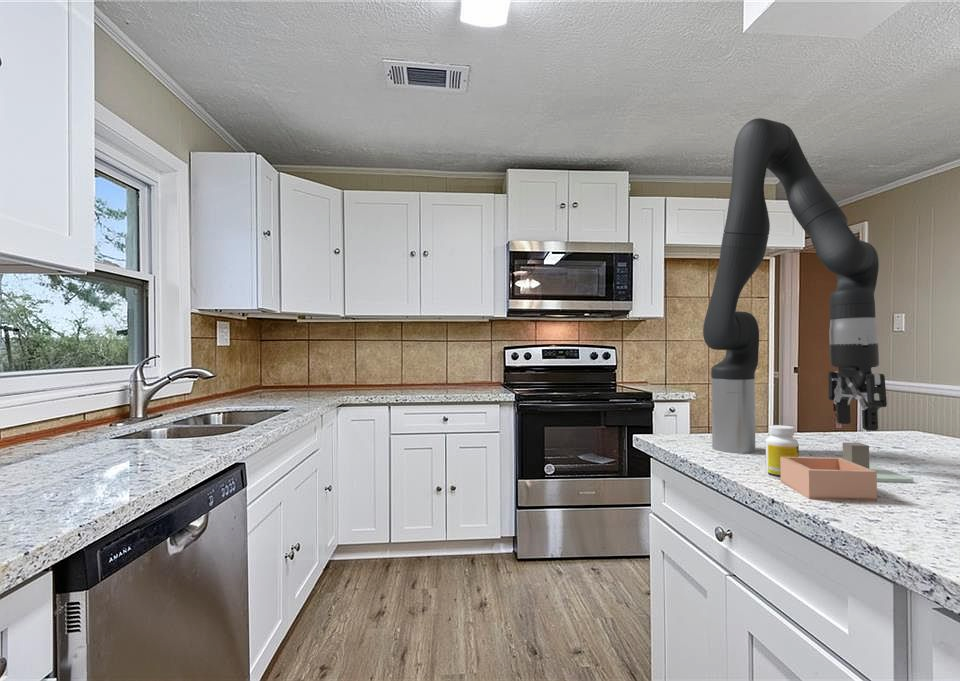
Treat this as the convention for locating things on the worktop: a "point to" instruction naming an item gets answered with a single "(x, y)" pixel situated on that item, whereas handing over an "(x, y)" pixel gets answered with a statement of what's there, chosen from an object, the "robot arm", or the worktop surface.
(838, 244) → the robot arm
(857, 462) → the lid
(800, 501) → the worktop surface
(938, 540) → the worktop surface
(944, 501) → the worktop surface
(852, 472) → the dish
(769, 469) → the supplement bottle
